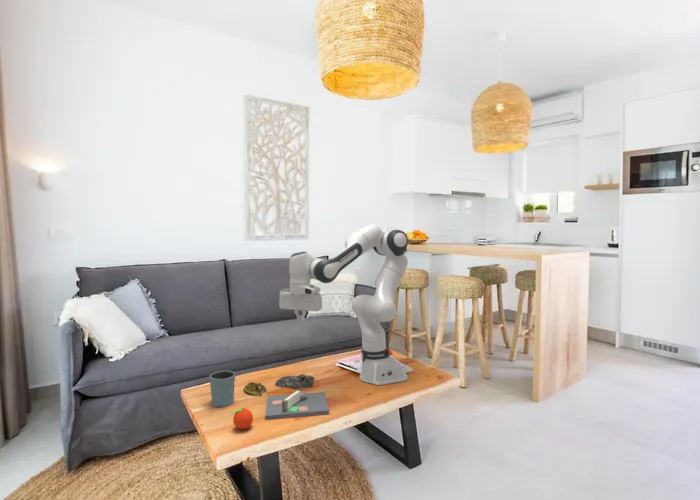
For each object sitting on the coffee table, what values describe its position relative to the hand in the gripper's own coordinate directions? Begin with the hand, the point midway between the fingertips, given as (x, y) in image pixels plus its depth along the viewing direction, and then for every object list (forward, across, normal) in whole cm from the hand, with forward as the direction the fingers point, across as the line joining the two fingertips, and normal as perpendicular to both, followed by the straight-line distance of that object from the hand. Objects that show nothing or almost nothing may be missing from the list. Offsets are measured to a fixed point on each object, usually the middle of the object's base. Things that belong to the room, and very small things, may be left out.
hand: (300, 319), depth 180 cm
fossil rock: (+32, -6, +4) cm, 33 cm away
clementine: (+31, -3, -39) cm, 50 cm away
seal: (+32, -20, -8) cm, 38 cm away
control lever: (+29, +6, -18) cm, 35 cm away
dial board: (+31, +7, -17) cm, 36 cm away
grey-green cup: (+31, -24, -24) cm, 46 cm away
